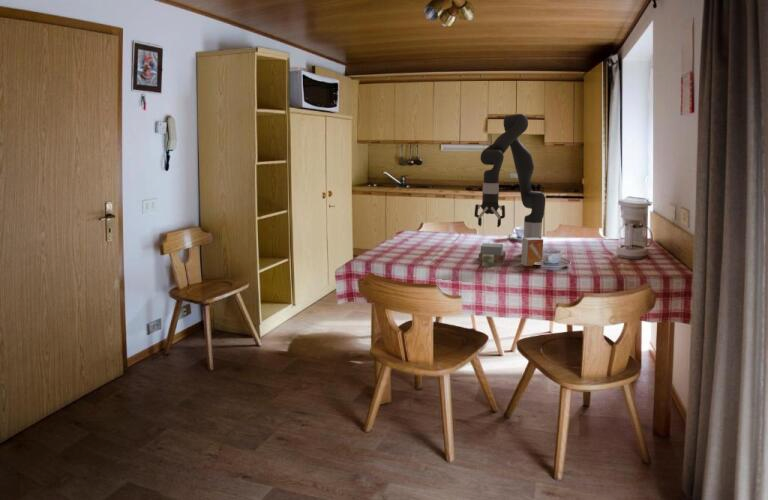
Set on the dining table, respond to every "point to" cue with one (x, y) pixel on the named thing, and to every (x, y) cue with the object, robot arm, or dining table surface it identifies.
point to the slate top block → (491, 249)
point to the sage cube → (488, 260)
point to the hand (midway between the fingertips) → (489, 226)
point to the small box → (531, 251)
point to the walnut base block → (495, 257)
